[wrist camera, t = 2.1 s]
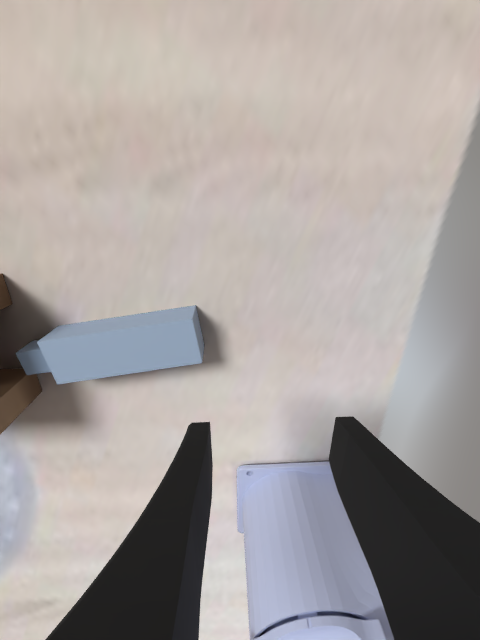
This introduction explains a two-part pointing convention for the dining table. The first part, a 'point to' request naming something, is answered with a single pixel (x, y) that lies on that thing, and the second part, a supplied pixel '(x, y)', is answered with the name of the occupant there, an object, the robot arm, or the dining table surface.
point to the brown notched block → (14, 381)
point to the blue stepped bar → (117, 346)
